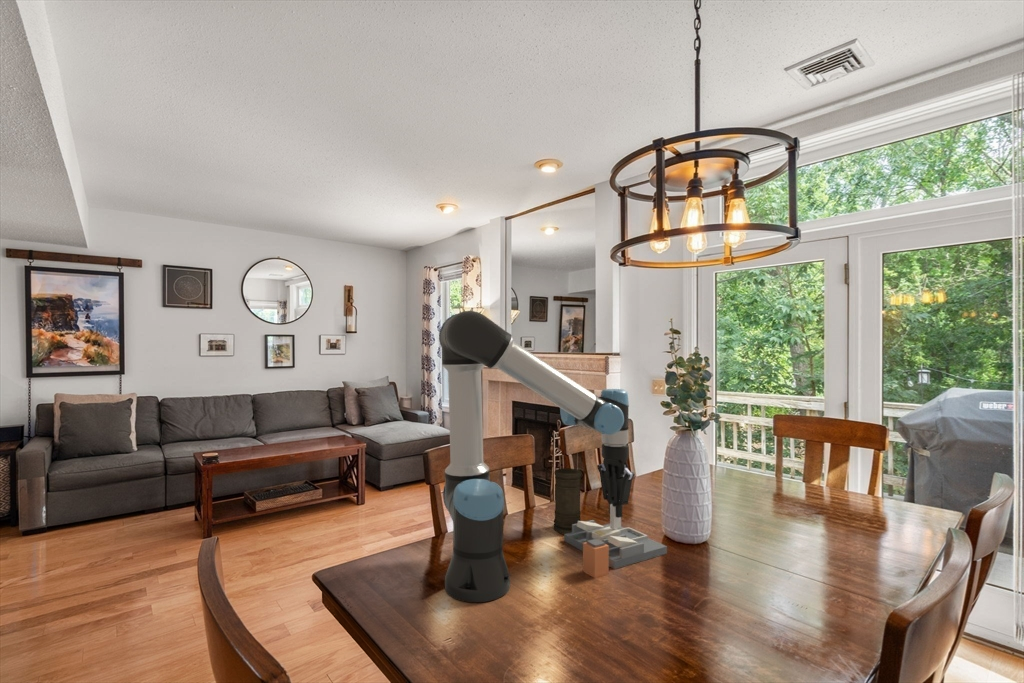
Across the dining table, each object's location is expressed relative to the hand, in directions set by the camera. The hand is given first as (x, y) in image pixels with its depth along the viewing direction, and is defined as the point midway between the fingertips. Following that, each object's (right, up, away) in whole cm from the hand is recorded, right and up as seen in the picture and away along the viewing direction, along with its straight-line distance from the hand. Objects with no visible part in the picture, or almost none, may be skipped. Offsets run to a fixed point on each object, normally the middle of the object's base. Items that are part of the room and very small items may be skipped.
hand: (615, 527), depth 139 cm
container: (-12, -6, +13) cm, 19 cm away
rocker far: (-6, -1, +4) cm, 8 cm away
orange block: (-8, -5, -16) cm, 19 cm away
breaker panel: (-1, -6, 0) cm, 6 cm away
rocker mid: (-3, -1, -2) cm, 4 cm away
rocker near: (0, -1, -7) cm, 7 cm away
